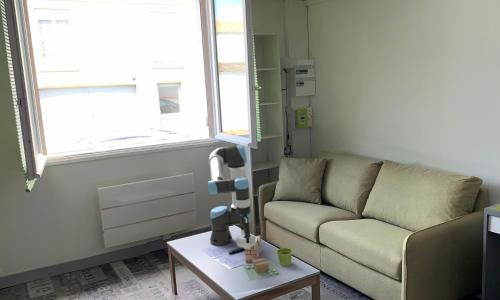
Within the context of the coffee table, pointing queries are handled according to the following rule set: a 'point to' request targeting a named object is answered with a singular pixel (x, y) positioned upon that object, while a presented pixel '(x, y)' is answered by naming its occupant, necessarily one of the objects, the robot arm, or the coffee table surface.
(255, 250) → the stack of blocks
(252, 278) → the build plate
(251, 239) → the small box
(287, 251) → the plant pot
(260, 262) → the base brick
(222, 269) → the coffee table surface
